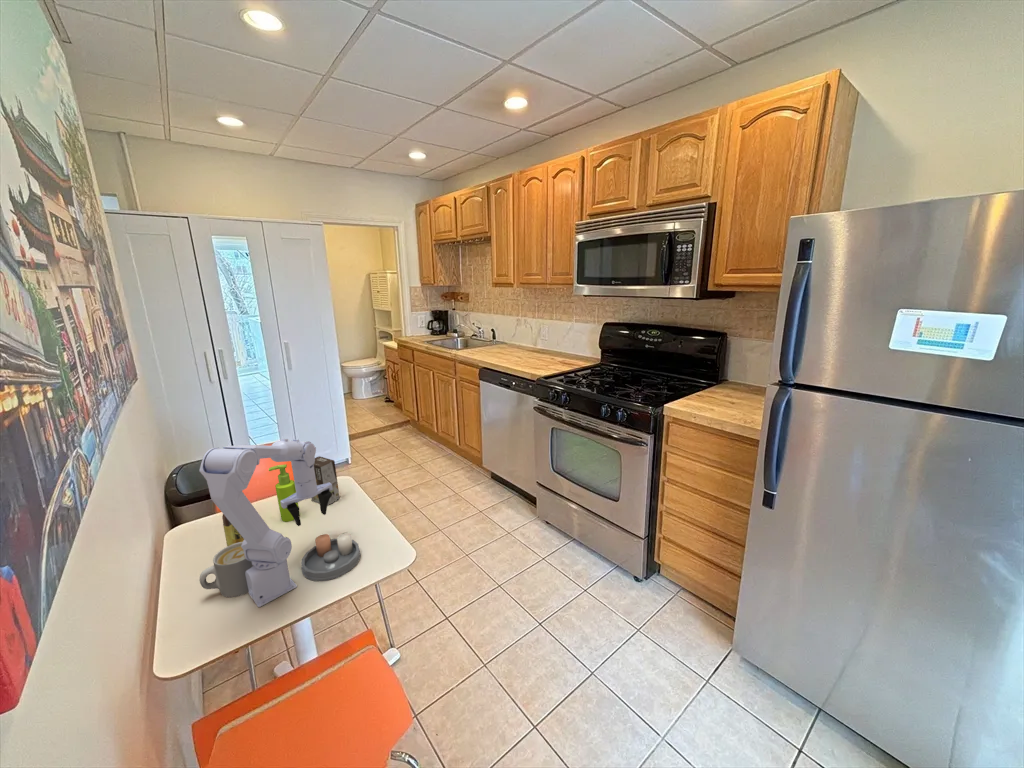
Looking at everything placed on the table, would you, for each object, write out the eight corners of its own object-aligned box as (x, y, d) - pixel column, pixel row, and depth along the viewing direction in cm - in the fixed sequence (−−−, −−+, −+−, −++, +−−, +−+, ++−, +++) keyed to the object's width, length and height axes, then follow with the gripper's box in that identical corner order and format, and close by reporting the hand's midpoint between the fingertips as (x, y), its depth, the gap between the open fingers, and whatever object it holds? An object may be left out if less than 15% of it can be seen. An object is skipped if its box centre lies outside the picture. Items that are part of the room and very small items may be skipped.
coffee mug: (263, 566, 118) (258, 537, 115) (262, 588, 109) (255, 557, 107) (208, 583, 112) (200, 552, 109) (201, 607, 103) (193, 574, 101)
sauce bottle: (241, 558, 122) (228, 500, 117) (223, 556, 123) (210, 498, 118) (258, 545, 128) (247, 489, 123) (241, 543, 129) (229, 487, 124)
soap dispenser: (278, 515, 144) (269, 464, 139) (300, 511, 147) (291, 460, 142) (277, 524, 139) (267, 471, 134) (299, 519, 142) (290, 467, 137)
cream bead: (342, 557, 120) (340, 542, 119) (336, 551, 123) (334, 537, 121) (355, 550, 123) (353, 536, 121) (349, 545, 125) (347, 531, 124)
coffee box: (340, 498, 155) (335, 460, 151) (326, 506, 149) (320, 467, 145) (324, 493, 159) (319, 455, 155) (310, 500, 154) (304, 462, 150)
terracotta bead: (322, 558, 120) (320, 544, 118) (314, 553, 122) (312, 539, 120) (334, 551, 123) (332, 536, 122) (326, 546, 125) (324, 532, 124)
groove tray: (316, 590, 109) (315, 582, 108) (292, 564, 119) (291, 556, 118) (370, 559, 120) (369, 552, 120) (344, 538, 130) (343, 531, 130)
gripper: (323, 466, 129) (328, 504, 132) (273, 483, 118) (281, 524, 121) (333, 473, 124) (338, 512, 127) (283, 491, 114) (290, 533, 117)
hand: (311, 518), depth 124 cm, fingers open, 7 cm apart
